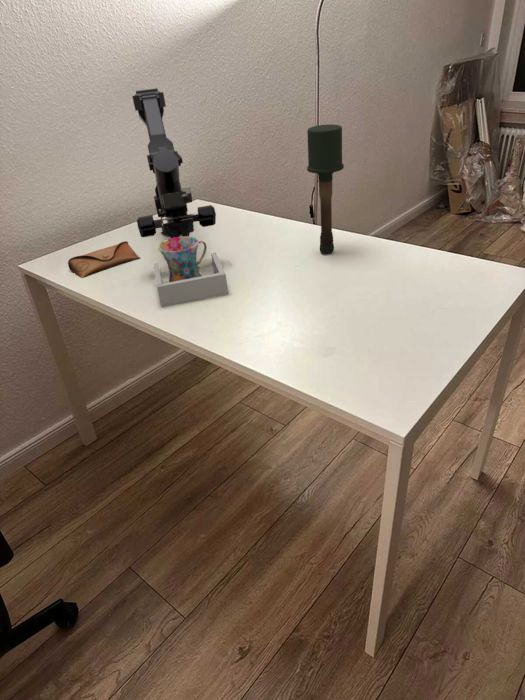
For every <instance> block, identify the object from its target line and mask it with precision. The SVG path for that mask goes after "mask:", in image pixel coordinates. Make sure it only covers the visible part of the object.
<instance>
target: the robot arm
mask: <svg viewBox="0 0 525 700" xmlns="http://www.w3.org/2000/svg"><path fill="white" fill-rule="evenodd" d="M131 96H132V97H131V98H132V101H133V106H134V110H135V112H137V113H138V117H139V119H140V120H141V121H142V122H143V124H144V125H145V126H146V130H147V134H148V139H149V142H148V144H147V149H148V153H149V154H147V155H146V158H147V163H148V168H149V171H152V173H153V174H154V176H155V177H154V178H155V182H156V186H155V188H154V192H155V193H154V194H155V195H154V196H153V200H154V204H155V205H154V206H155V209H156V212H157V218H160V219H155V220H154V216H153V214H150V215H144V216H138V217H137V219H136V223H137V224H136V225H137V228H138V231H139V234H140V238H148V237H154V236H155V234H156V233H157V229H161V232H160V234H161V235H164V237H169V239H171V238H175V237H180V236H181V237H184V236H187V237H190V234H191V233H193V232H194V231H195V228H194V225H195V224H194V223H195V222H198V224H199V225H200V226H201V227H203V228H205V227H211V226H215V225H216V221H217V219H216V217H217V215H216V214H217V213H216V210H215V207H214V205H211V204H208V205H203V206H197V212H196V213H190V214H188V204H190V203H192V202H193V196H192V192H191V191H192V190H191V188H190V187H184V188H182V184H181V181H180V167H181V165H182V164H183V158H182V156H181V155H180V154H179V153H178V151H177V150H175V147H174V143H173V141H172V140H170V138H168V137H167V133H166V130H165V127H164V126H165V125H164V122H163V118H164V114H165V109H164V108H167V105H166V99H165V94H164V92H163V91H162V92H161V91H159V88H156V87H155V88H149V89H142V90H135V94H134V95H131Z"/></svg>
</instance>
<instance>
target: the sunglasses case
mask: <svg viewBox="0 0 525 700" xmlns="http://www.w3.org/2000/svg"><path fill="white" fill-rule="evenodd" d="M139 259H141V257H140V256H138V255H137V253H136V252H135V251H134V250H133V248H132V247H131V245H130V244H129V242H128V241H127V240H126V241H121V242H120V243H117V244H114V245H111V246H107V247H104V248H100V249H97V250H95V251H92V252H89V253H85V254H81V255H77V256H72V257H71V258H69V260H68V261H67V264H68V265H67V266H68V268H69V271H70V270H71V271H70V272H71V273H73V274H74V273H75V274H74V275H76V276H78V277H79V278H80V279H84V278H87V277H89V276H92V275H95V274H98V273H99V272H103V271H106V270H109V269H112V268H115V267H117V266H120V265H121V266H122V265H124V264H127V263H130V262H134V261H137V260H139Z"/></svg>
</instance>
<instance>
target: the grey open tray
mask: <svg viewBox="0 0 525 700" xmlns="http://www.w3.org/2000/svg"><path fill="white" fill-rule="evenodd" d="M210 255H211V260H212V261H211V263H212V267H213V273H212V274H207V275H201V277H195V278H190V279H185V280H179V281H174V282H169V281H168V282H169V283H168V282H163V279H162V274H161V270H160V269H161V268H160V265H159V262H156V263H153V270H154V277H155V284H156V288H157V293H158V298H159V301H160V306H161V308H164V307H168V306H174V305H179V304H185V303H189V302H190V303H191V302H195V301H201V300H205V299H208V298H209V299H210V298H214V297H220V296H225V295H229V289H228V282H227V275H226V271H225V270H224V267H223V265H222V263H221V261H220V258H219V256H218V255H217V252H211V253H210Z"/></svg>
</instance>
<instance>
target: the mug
mask: <svg viewBox="0 0 525 700" xmlns="http://www.w3.org/2000/svg"><path fill="white" fill-rule="evenodd" d="M200 244H203V252H202V254H201V256H200V258H199V260H198V261H197V254H198V253H197V252H198V247H199V245H200ZM157 249H158V250H159V252H160V254H161V255H162V256H163V258H164V260H165V262H166V265H167V268H168V271H169V273H168V274H169V279H168V282H167V283H169V282H174V281H179V280H185V279H190V278H195V277H201V276H202V274H201V273H200V271H199V269H200V267H199V265H200V264H201V263H202V261H203V259H204V258H205V255H206V253H207V243H206V242H205V241H203V240H199V239H198V238H196V237H193V236H189V237H187V236H184V237H182V236H179V237H175V238H168V239H165V240H163V241H162V242H160V243H159V245H158V248H157Z"/></svg>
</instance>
